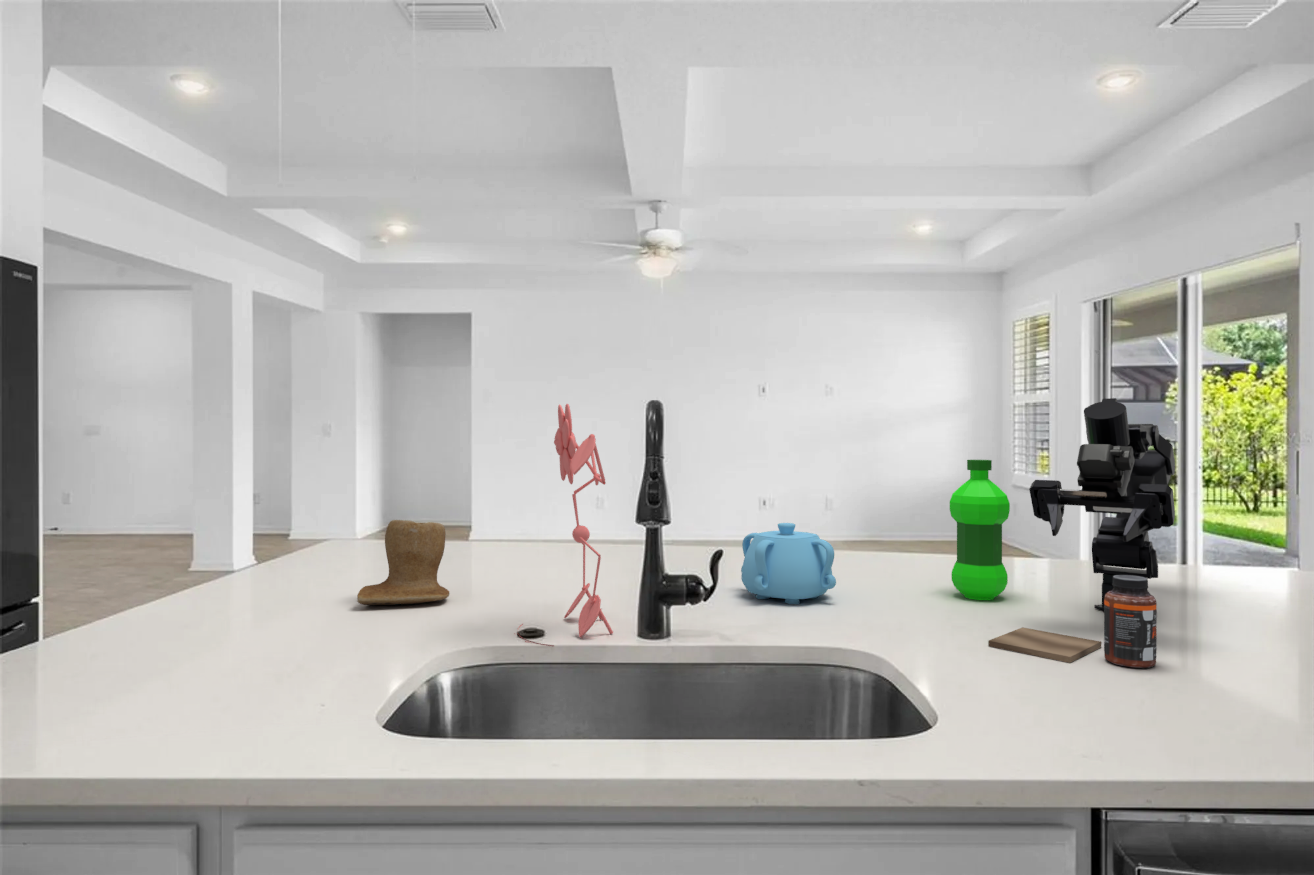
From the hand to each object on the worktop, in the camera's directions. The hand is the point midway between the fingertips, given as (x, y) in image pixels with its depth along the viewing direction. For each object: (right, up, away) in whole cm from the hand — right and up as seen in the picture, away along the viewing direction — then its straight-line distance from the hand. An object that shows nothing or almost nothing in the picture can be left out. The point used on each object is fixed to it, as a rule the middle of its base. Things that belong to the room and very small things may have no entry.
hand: (1088, 536), depth 115 cm
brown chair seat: (-107, -16, +29) cm, 112 cm away
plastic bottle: (-3, -15, +31) cm, 35 cm away
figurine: (-76, -16, +9) cm, 78 cm away
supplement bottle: (0, -16, -10) cm, 18 cm away
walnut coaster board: (-7, -15, -2) cm, 17 cm away
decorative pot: (-38, -15, +32) cm, 52 cm away
